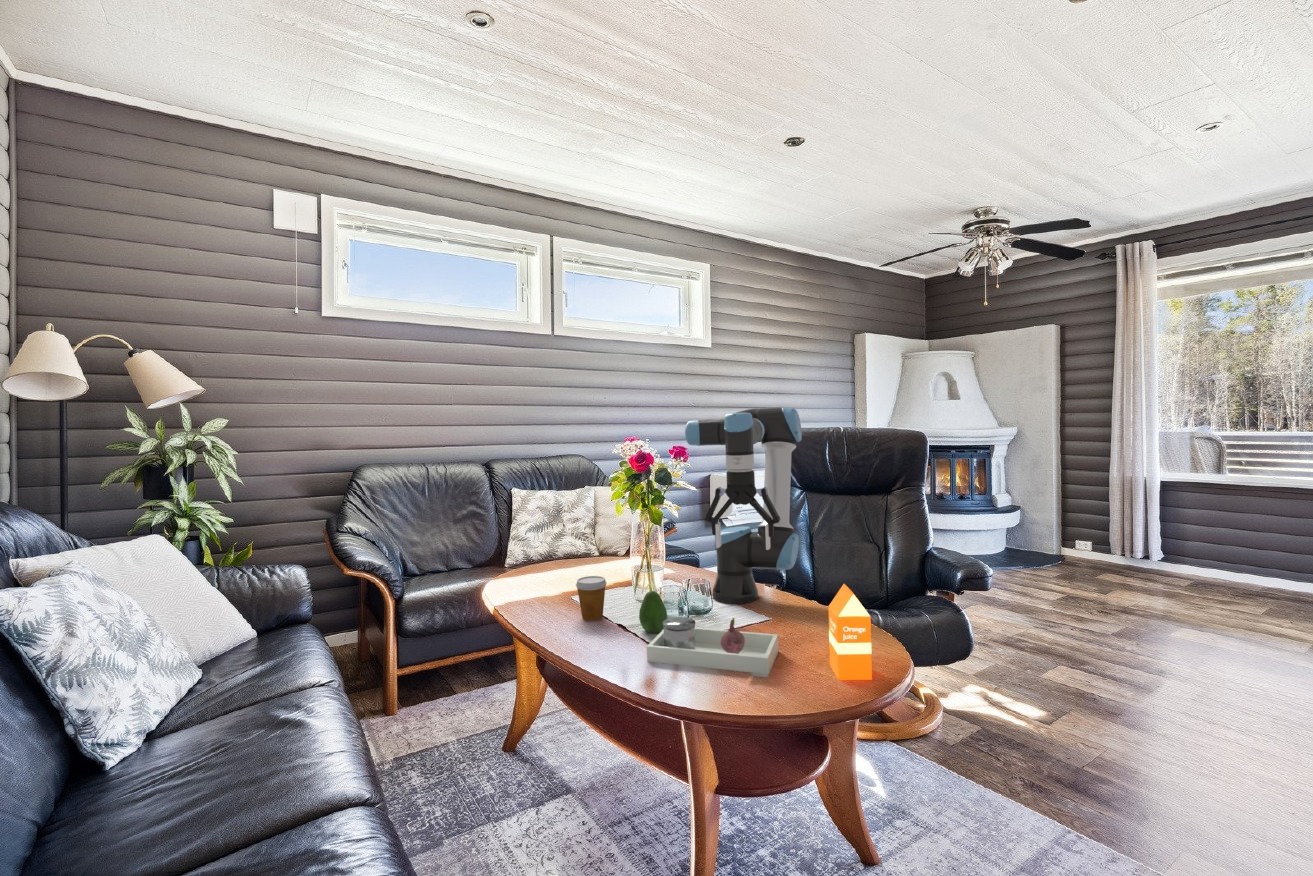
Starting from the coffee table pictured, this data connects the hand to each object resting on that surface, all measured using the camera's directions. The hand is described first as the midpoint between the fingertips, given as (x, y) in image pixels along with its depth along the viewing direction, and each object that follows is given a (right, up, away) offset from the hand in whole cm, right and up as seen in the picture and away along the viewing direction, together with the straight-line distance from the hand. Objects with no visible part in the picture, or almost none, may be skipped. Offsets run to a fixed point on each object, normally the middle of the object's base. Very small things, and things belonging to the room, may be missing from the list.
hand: (743, 547), depth 169 cm
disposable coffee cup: (-43, -26, +23) cm, 55 cm away
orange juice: (+22, -25, -23) cm, 41 cm away
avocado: (-24, -26, +8) cm, 36 cm away
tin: (-18, -25, -9) cm, 32 cm away
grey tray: (-9, -26, -12) cm, 30 cm away
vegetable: (-4, -25, -13) cm, 29 cm away
